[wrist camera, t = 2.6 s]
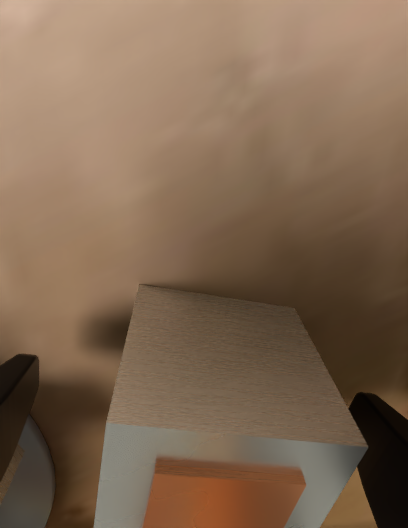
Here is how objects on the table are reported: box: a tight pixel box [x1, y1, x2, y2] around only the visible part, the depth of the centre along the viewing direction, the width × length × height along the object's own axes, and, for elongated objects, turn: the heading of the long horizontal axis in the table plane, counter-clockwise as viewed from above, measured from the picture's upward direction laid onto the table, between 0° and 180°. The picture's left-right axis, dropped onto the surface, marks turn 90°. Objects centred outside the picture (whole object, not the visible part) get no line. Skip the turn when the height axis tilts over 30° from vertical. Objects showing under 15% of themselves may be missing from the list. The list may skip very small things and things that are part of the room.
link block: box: [94, 284, 368, 528], centre depth 8 cm, size 4×4×4 cm
